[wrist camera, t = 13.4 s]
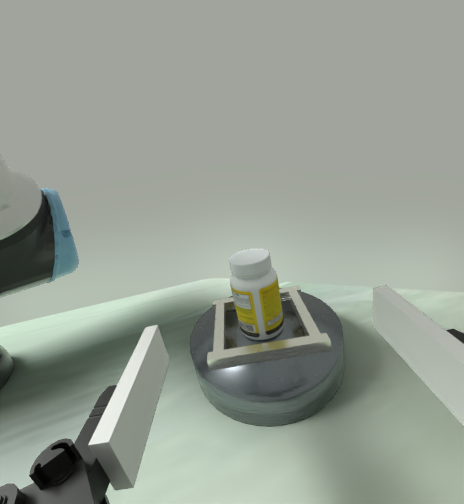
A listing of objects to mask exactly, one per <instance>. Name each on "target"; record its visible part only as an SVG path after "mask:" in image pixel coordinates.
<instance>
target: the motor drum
mask: <svg viewBox="0 0 464 504" xmlns="http://www.w3.org/2000/svg"><path fill="white" fill-rule="evenodd" d="M279 292H280V299H281V305H282V312H283V319H284V327H283V329H282V331H281V332H280V333H279V334H278V335H277V336H275V337H273V338H270V339H266V340H252V339H249V338H247V337H246V336H245V335H244V334H243V333H242V332H241V329H240V325H239V321H238V316H237V312H236V308H235V303H234V299H233V296H231V297H229V298H225V299H219V300H214V301H213V303H212V306H213V307H212V308H210V309H209V310H208V311H207V312H206V313H205V314H204V315H203V316H202V317H201V318H200V319H199V321H198V322H197V324H196V325H195V327H194V329H193V331H192V335H191V338H190V352H191V356H192V359H193V362H194V365H195V369H196V372H197V375H198V378H199V381H200V385H201V388H202V390H203V392H204V394H205V396H206V397H207V399H208V400H209V401H210V403H211V404H212V405H213V406H214V407H215V408H216V409H218V410H219V411H220V412H222V413H223V414H225V415H226V416H228V417H230V418H232V419H234V420H237V421H240V422H243V423H246V424H251V425H256V426H280V425H286V424H290V423H295V422H297V421H300V420H303V419H305V418H307V417H309V416H311V415H313V414H315V413H316V412H318V411H319V410H320V409H322V408H323V407H324V406H325V405H326V404H327V403H328V402H329V401H330V400H331V399H332V398H333V396H334V395H335V393H336V392H337V390H338V388H339V386H340V384H341V381H342V377H343V371H344V356H343V332H342V326H341V323H340V320H339V318H338V317H337V315H336V313H335V312H334V311H333V310H332V309H331V308H330V307H329V306H328V305H327V304H326V303H324V302H323V301H321V300H320V299H318V298H316V297H314V296H312V295H309V294H307V293H304V292H301V289H300V287H299V286H294V287H288V288H279Z"/></svg>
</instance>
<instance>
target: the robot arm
mask: <svg viewBox="0 0 464 504" xmlns="http://www.w3.org/2000/svg"><path fill="white" fill-rule="evenodd" d="M78 264H79V260H78V254H77V250H76V247H75V243H74V240H73V237H72V234H71V232H70V227H69V223H68V220H67V217H66V214H65V211H64V208H63V205H62V202H61V200H60V197H59V195H58V193H57V192H56V191H55V190H53V189H45V188H42V189H39V187H38V186H37V184H36V183H35V182H34V180H33V179H32V178H30V177H29V176H27V175H26V174H24V173H22V172H20V171H17V170H14V169H11V168H8V166H7V164H6V163H5V161H4V160H3V158H2V157H1V155H0V297H3V296H6V295H10V294H13V293H16V292H19V291H22V290H25V289H28V288H31V287H35V286H38V285H41V284H44V283H49V282H52V281H54V280H55V279H56V278H59V277H62V276H64V275H67V274H70V273H72V272H73V271H75V270H76V268H77V267H78ZM373 327H374V328H375V329H376V330H377V331H378V332H379V333H380V334H381V335H382V337H383V338H384V339H385V340H386V341H387V342H388V343H389V344H390V345H391V346H392V348H393V349H394V350H395V351H396V352H397V353H398V354H399V355H400V356H401V358H402V359H403V360H404V361H405V362H406V363H407V364H408V365H409V366H410V367H411V369H412V370H413V371H414V372H415V373H416V374H417V375H418V376H419V377H420V379H421V380H422V381H423V382H424V383H425V384H426V385H427V386H428V387H429V389H430V390H431V391H432V392H433V393H434V394H435V395H436V396H437V397H438V398H439V400H440V401H441V402H442V403H443V404H444V405H445V406H446V407H447V408H448V410H449V411H450V412H451V413H452V414H453V415H454V416H455V417H456V418H457V419H458V421H459V422H460V423H461V424H462V425H463V426H464V333H462V332H459V331H457V330H455V329H450V330H445V329H443V328H442V327H441V326H439V325H438V324H437V323H436V322H434V321H433V320H432V319H430V318H429V317H428V316H426V315H425V314H424V313H422V312H421V311H420V310H418V309H417V308H416V307H414V306H413V305H412V304H411V303H409V302H408V301H407V300H405V299H404V298H403V297H401V296H400V295H399V294H397V293H396V292H395V291H393V290H392V289H391V288H389V287H388V286H387V285H385V286H379V287H374V288H373ZM169 361H170V358H169V355H168V353H167V350H166V347H165V344H164V341H163V338H162V336H161V333H160V330H159V327H158V325H155V326H149V327H145V329H144V331H143V333H142V335H141V338H140V340H139V342H138V344H137V346H136V348H135V350H134V352H133V354H132V356H131V358H130V360H129V362H128V364H127V366H126V368H125V370H124V372H123V374H122V376H121V379H120V381H119V383H118V385H113V386H109V387H108V388H107V389H106V390H105V391H104V392H103V393H102V394H101V396H100V397H99V399H98V401H97V403H96V404H95V406H94V409H93V410H92V412H91V414H90V415H89V418H88V419H87V421H86V423H85V425H84V427H83V428H82V430H81V432H80V434H79V436H78V438H77V440H76V441H75V443H73V442H72V441H71V439H62V440H58V441H57V442H55V443H53V444H51V445H50V446H49V447H47V448H46V449H45V450H44V451H43V452H42V453H41V454H40V455H39V456H38V458H37V459H36V460H35V462H34V464H33V465H32V467H31V470H30V475H29V476H30V477H31V479H32V480H33V481H34V483H33V484H31V485H29V486H27V487H25V488H23V489H21V490H19V489H18V488H17V486H16V485H15V484H6V485H4V486H1V487H0V504H109V501H108V498H107V496H106V495H105V493H106V491H107V488H108V485H109V482H110V483H111V485H112V486H113V488H114V490H121V489H128V488H134V485H135V481H136V478H137V474H138V471H139V467H140V463H141V460H142V456H143V453H144V449H145V446H146V442H147V439H148V435H149V432H150V428H151V425H152V421H153V418H154V414H155V411H156V407H157V403H158V400H159V396H160V393H161V389H162V386H163V382H164V379H165V375H166V372H167V368H168V365H169ZM13 367H14V362H13V360H12V358H11V357H10V355H9V354H8V352H7V351H6V349H4V348H3V347H2V346H0V388H1V387H2V385H3V384H4V383H5V382H6V380H7V379H8V378H9V376H10V374H11V373H12V370H13Z"/></svg>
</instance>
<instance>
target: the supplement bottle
mask: <svg viewBox="0 0 464 504" xmlns="http://www.w3.org/2000/svg"><path fill="white" fill-rule="evenodd" d="M229 262H230V268H231V272H232V276H231V278H230V286H231V290H232V294H233V299H234V303H235V308H236V312H237V316H238V321H239V325H240V329H241V332H242V333H243V334H244V335H245V336H246V337H247V338H249V339H252V340H266V339H270V338H273V337H275V336H277V335H278V334H279V333H280V332H281V331H282V329H283V327H284V319H283V312H282V305H281V299H280V292H279V285H278V279H277V274H276V271H275V270H274V269H273V268H272V267H271V259H270V253H269V252H268V251H267V250H265V249H261V248H253V249H246V250H243V251H239V252H237V253H235V254H233V255H232V256H231V257H230V259H229Z"/></svg>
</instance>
